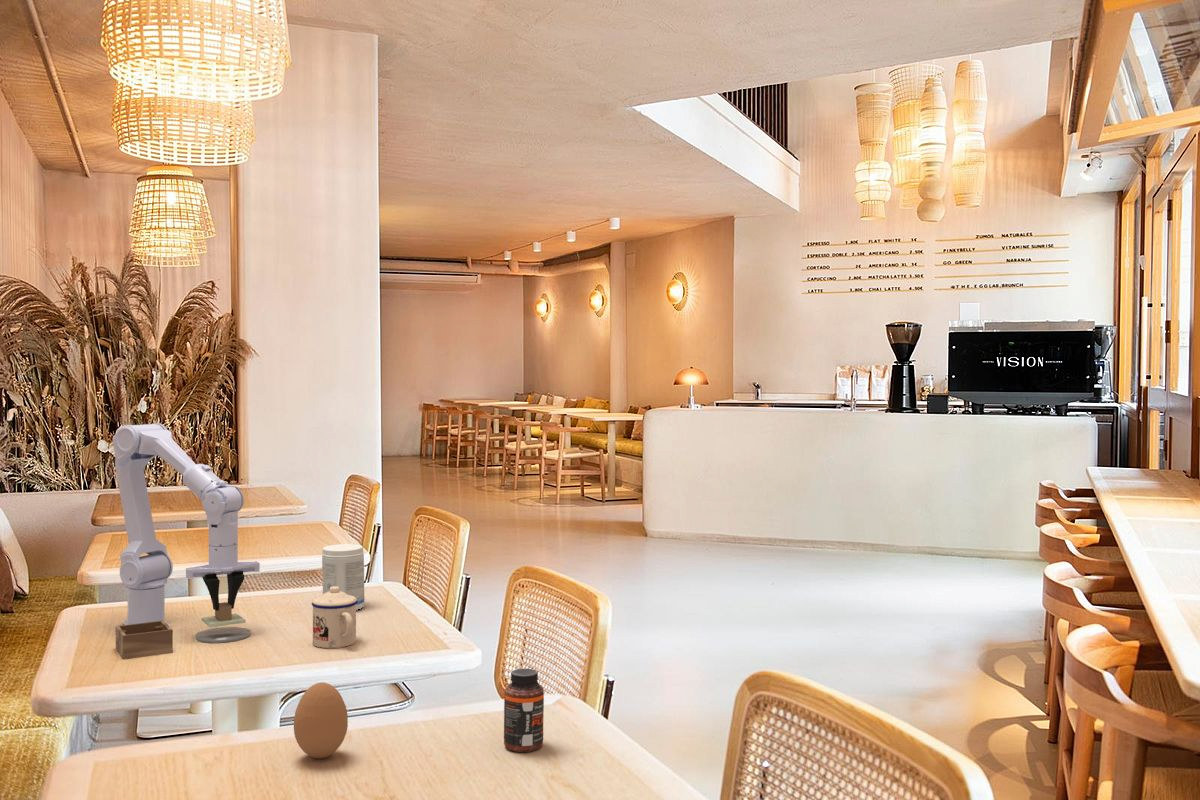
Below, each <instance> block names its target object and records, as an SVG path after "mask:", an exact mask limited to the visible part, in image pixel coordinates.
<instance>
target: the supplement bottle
mask: <svg viewBox="0 0 1200 800" xmlns="http://www.w3.org/2000/svg"><path fill="white" fill-rule="evenodd" d="M510 673H511V674H510V681H511V682H510V684H508V685H507V686H506V687H505V689H504V697H503V699H504V701H503V702H504V704H503V705H504V706H503V709H504V710H503V745H504V747H505V748H506V749H508V750H509V751H512V752H515V753H516V752H517V753H529V752H534V751H537V750H539V749H540V748H542V746H543V744H544V709H545V708H544V707H545V706H544V705H545V704H544V703H545V697H544V696H545V691H544V687H543V686H542V685H541V684H539V682H538V680H539V675H538V674H539V672H538V670H536V669H533V668H516V669H513V670H512V671H511V672H510Z"/></svg>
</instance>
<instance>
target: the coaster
mask: <svg viewBox="0 0 1200 800" xmlns="http://www.w3.org/2000/svg"><path fill="white" fill-rule="evenodd" d="M251 635H252V631H251V629H249V628H246V627H241V626H223V627H222V626H219V627H212V628H208V629H204V630H201V631H199V632H197V633H196V634H195V635H194V639H195V640H196V641H197V642H200V643H206V644H226V643H233V642H238V641H239V642H240V641H243V640H246V639H248V638H250V637H251Z"/></svg>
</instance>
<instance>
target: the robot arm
mask: <svg viewBox="0 0 1200 800" xmlns="http://www.w3.org/2000/svg"><path fill="white" fill-rule="evenodd" d="M112 443H113V450H114V455H115V457H114V458H115V460H114V461H115V462H114V469H115V474H116V478H117V484H118V490H119V495H120V501H121V507H122V512H123V518H124V524H125V529H126V534H127V540H128V544H127V546H126V547H125V548H124V550H123V551H122V552H121V553H120V555H119V558H120V567H119V576H120V580H121V582H122V584H124V585H125V588H126V589H128V591H127V620H122V624H123V625H129V624H138V623H146V622H155V621H163V620H164V621H165V623H166V624H167V625H168V626H169V627H170V624H169V623H168V622H167V621H166V620H165V618H166V617H165V610H166V609H165V607H166V606H165V594H166V593H165V592H166V591H165V584H168V579H169V578H170V577H171V575H172V573H173V568H174V567H173V566H174V565H173V561H172V559H171V557H170V556H169V554H168V549H167V546H166V545H165V544H164V543H163V542H161V541H159V540H158V539H157V538H156V537H157V536H156V532H155V525H154V521H153V514H152V510H151V509H152V508H151V504H150V503H151V502H150V497H149V493H148V486H147V480H146V476H145V468H146V466H147V464H149V462H150V461H151V460H153V459H155V457H156V456H158V457H159V458H161V460H163V461H165V462H166V463H167V464H168V465H169V466H170V467H172V468H173V469H174V470H175V471H176V472H178V473H180V475H182V484H183V485H185V486H186V488H188V489H189V490H190V491H191V492H192V493H193V494H194V495H195V496H196V497H197V498H198V499H200V501H201V506H202V508H203V511H204V512H205V515H206V522H207V523H208V564H205V565H199V566H191V567H186V568H185V577H186V579H194V578H201V577H202V580H203V583H204V584H205V586H206V589H207V590H208V593H209V596H210V599H211V603H212V609H213V611H214V612H215V611H217V610H219V603H220V596H219V595H220V594H219V593H220V591H219V590H220V582H221V581H220V579H219V577H218V576H223V575H226V579H227V603H228V604H230V605H231V606H232V610H233V609H235V604H236V603H235V602H236V600H237V597H238V596H237V595H238V593H239V590H240V588H241V586H242V584H243V582H244V580H245V574H244V573H257V572H258V573H259V572H260V565H261V564H260V562H259V561H238V560H239V559H238V555H239V554H238V553H239V551H238V550H239V549H238V548H239V547H238V545H239V544H238V539H239V537H238V536H239V535H238V534H239V533H238V532H239V531H238V530H239V529H238V525H239V524H238V521H239V519H238V517H239V515H238V513H239V511H241V509H242V508H243V506H244V502H245V501H244V500H245V499H244V494H243V492H242V490H241V489H240V488H239V487H238V486H237V485H234V484H233V485H232V484H231V485H229V484H228V483H226V482H225V480H224V479H221V478H219V477H218V475H216V474H215V473H214V472H213V471H212V468H211V466H209V465H208V464H203V463H195V462H194V460H193V459H192V458H191V457H190V456H189V455H188V454H187V453H186V452H185V451H184V450H183V449H182V448H181V447H180V446H179V445H178V443H177V442H176V441H175V440H174V439H173V434H172V432H171V431H170V430H169V429H167V428H166V426H165V425H164V424H162V423H158V422H154V423H150V424H148V423H145V424H133V425H131V424H124V425H122V426H119V428H118V429H117V431H116V432H115V434H114V435H113V437H112ZM143 554H146V555H143ZM141 555H142V556H141Z"/></svg>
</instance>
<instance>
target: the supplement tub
mask: <svg viewBox="0 0 1200 800" xmlns="http://www.w3.org/2000/svg"><path fill="white" fill-rule="evenodd" d="M321 556H322V557H321V570H322V572H321V573H322V574H321V575H322V584H321V585H322V595H323V594H325V593H326V592H330V587H334V586H337V587H339V588H340V591H342V592H344V593H346V594H347V595H351V596H354V597H355V598H356V599H357V604H356V610H357V611H359V610H358V609H360V610H362V609H363V608H364V607H365V554H364V547H363V545H361V544H356V543H339V544H330V545H326V546H324V547H322V554H321ZM363 606H364V607H363ZM362 607H363V608H362ZM361 608H362V609H361Z"/></svg>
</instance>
